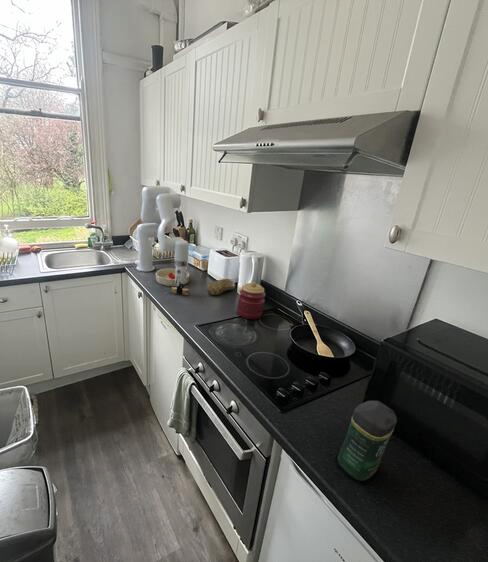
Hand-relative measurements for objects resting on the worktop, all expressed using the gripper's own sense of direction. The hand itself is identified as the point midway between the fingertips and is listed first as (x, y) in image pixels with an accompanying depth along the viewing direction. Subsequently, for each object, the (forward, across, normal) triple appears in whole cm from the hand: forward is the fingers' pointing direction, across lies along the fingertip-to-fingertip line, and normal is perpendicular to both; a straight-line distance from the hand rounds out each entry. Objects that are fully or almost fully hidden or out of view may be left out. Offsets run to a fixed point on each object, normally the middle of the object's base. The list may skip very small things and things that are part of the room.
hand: (180, 292), depth 172 cm
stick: (0, 0, 0) cm, 0 cm away
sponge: (0, +9, -22) cm, 24 cm away
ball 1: (-2, +21, +11) cm, 24 cm away
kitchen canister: (+1, -15, -40) cm, 43 cm away
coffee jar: (+1, -93, -69) cm, 116 cm away
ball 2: (-2, +18, +9) cm, 20 cm away
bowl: (0, +18, +9) cm, 21 cm away
